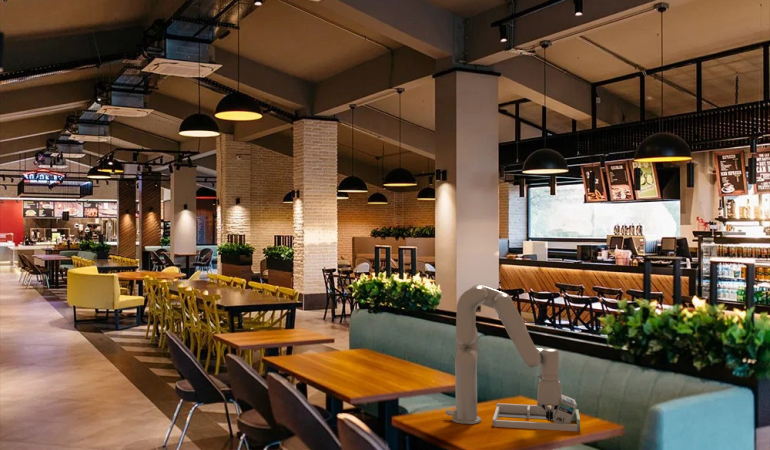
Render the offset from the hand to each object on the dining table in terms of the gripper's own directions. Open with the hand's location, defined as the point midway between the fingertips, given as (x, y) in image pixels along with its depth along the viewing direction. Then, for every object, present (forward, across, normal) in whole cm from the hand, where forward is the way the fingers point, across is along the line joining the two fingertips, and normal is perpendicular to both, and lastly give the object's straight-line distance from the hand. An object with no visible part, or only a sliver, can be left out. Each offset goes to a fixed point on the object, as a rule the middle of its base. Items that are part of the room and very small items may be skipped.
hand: (549, 420), depth 295 cm
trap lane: (+2, -6, +4) cm, 7 cm away
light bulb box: (+1, +4, 0) cm, 4 cm away
